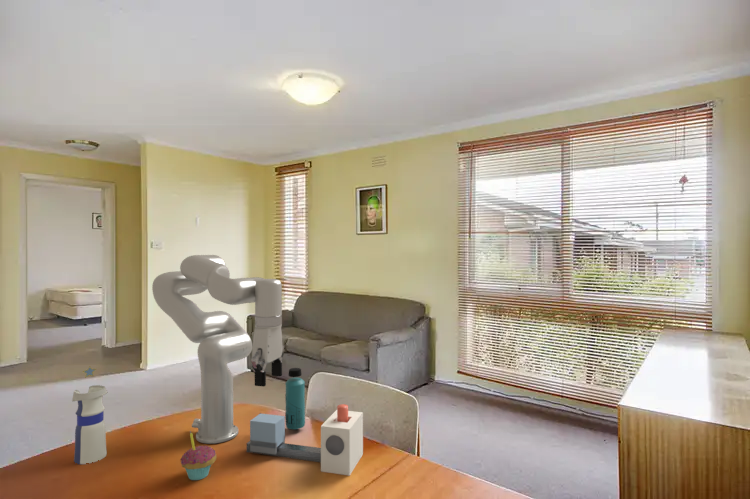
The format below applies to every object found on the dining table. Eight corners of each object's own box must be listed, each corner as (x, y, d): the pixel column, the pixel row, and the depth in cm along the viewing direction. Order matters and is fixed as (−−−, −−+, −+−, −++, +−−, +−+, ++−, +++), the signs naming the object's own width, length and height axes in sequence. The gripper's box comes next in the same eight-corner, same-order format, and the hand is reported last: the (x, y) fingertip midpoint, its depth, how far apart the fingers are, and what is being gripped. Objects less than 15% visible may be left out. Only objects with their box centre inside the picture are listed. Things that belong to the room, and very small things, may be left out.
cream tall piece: (64, 461, 119) (64, 371, 119) (96, 448, 126) (96, 363, 126) (81, 468, 115) (81, 375, 115) (113, 454, 123) (113, 367, 123)
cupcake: (181, 487, 106) (181, 438, 106) (179, 471, 113) (179, 426, 113) (218, 478, 110) (218, 432, 110) (214, 464, 117) (214, 420, 117)
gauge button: (335, 433, 117) (335, 407, 117) (339, 428, 120) (339, 403, 120) (346, 434, 116) (346, 408, 116) (349, 430, 119) (349, 404, 119)
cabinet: (320, 472, 113) (320, 426, 113) (336, 450, 125) (336, 409, 125) (349, 476, 111) (349, 429, 111) (362, 454, 123) (362, 412, 123)
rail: (246, 452, 124) (246, 443, 124) (252, 447, 127) (252, 439, 127) (327, 463, 118) (327, 454, 118) (331, 458, 120) (331, 449, 120)
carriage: (250, 451, 122) (250, 420, 122) (260, 442, 128) (260, 413, 128) (275, 454, 120) (275, 423, 120) (284, 445, 126) (284, 416, 126)
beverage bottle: (307, 426, 142) (307, 366, 142) (302, 434, 135) (302, 371, 135) (288, 425, 143) (288, 365, 143) (282, 434, 136) (282, 371, 136)
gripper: (271, 316, 133) (271, 371, 133) (240, 326, 117) (240, 389, 117) (293, 317, 132) (293, 373, 131) (265, 327, 115) (265, 391, 115)
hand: (268, 380), depth 124 cm, fingers open, 9 cm apart
